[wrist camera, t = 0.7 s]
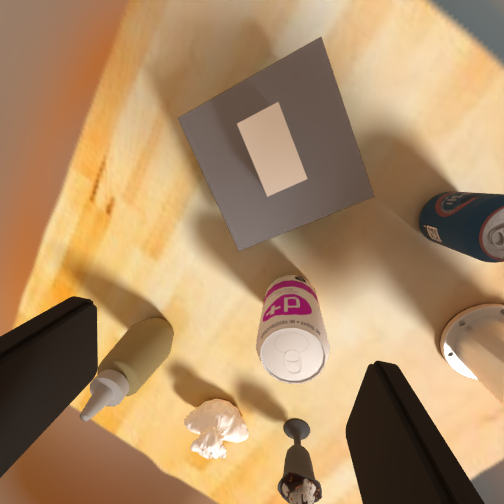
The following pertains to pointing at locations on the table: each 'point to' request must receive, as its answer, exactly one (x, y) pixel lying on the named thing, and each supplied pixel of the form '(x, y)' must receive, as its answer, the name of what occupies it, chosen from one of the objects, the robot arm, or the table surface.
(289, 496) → the sundae
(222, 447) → the white tied bag
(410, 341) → the table surface
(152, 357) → the squeeze bottle
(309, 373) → the supplement can
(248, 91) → the lid
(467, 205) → the soda can
